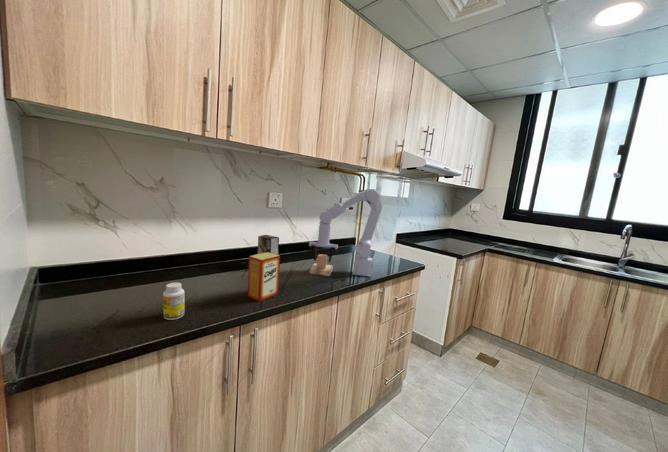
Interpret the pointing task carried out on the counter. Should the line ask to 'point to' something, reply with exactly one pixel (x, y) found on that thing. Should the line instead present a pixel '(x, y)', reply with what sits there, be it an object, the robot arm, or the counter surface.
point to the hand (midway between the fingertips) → (322, 261)
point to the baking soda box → (263, 276)
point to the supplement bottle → (173, 301)
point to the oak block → (321, 270)
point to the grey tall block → (268, 244)
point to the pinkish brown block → (321, 261)
